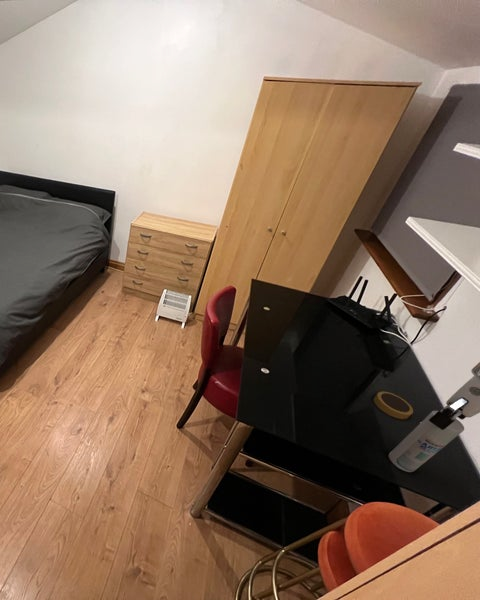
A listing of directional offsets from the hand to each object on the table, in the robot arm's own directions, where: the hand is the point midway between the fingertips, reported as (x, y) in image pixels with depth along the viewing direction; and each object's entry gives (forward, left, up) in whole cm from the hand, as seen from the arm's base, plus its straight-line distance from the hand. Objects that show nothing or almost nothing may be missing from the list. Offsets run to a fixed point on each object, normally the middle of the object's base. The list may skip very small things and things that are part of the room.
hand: (445, 419), depth 86 cm
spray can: (0, 0, -20) cm, 20 cm away
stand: (+14, -21, -20) cm, 32 cm away
